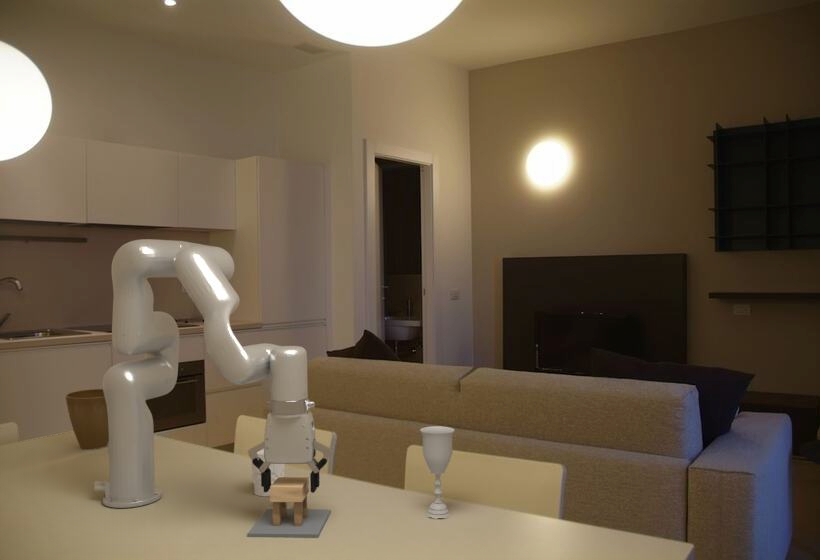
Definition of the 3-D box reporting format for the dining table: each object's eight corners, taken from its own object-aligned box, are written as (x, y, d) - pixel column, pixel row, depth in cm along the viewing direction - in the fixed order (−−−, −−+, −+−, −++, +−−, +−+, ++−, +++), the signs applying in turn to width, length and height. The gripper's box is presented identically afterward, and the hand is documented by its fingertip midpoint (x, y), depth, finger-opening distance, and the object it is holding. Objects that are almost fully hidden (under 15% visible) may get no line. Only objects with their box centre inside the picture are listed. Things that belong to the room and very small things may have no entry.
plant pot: (55, 452, 203) (54, 397, 203) (87, 439, 218) (86, 388, 217) (102, 453, 200) (101, 397, 200) (131, 440, 215) (130, 388, 215)
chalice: (459, 511, 149) (458, 427, 149) (450, 522, 143) (449, 434, 143) (426, 508, 152) (425, 425, 151) (416, 518, 145) (415, 432, 145)
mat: (247, 536, 137) (247, 533, 137) (266, 511, 151) (266, 508, 151) (318, 537, 136) (318, 534, 136) (331, 512, 150) (331, 509, 150)
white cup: (278, 498, 159) (277, 454, 159) (246, 496, 161) (245, 453, 161) (291, 487, 167) (290, 446, 167) (260, 486, 169) (259, 444, 168)
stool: (278, 515, 147) (278, 477, 147) (309, 515, 146) (308, 477, 146) (270, 526, 140) (269, 486, 140) (302, 526, 140) (302, 487, 140)
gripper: (334, 403, 146) (335, 485, 146) (252, 403, 147) (254, 484, 148) (327, 410, 139) (329, 496, 139) (242, 410, 140) (243, 496, 140)
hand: (290, 490), depth 143 cm, fingers open, 9 cm apart
